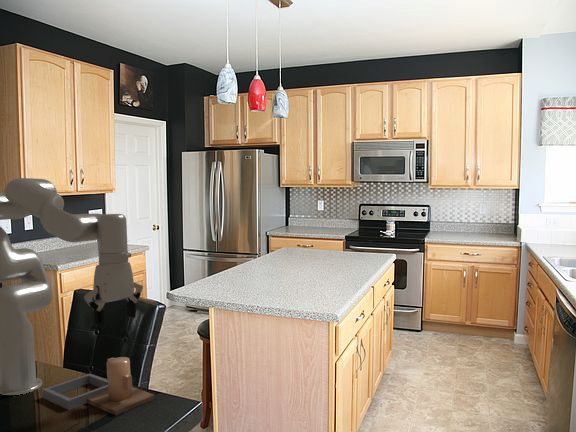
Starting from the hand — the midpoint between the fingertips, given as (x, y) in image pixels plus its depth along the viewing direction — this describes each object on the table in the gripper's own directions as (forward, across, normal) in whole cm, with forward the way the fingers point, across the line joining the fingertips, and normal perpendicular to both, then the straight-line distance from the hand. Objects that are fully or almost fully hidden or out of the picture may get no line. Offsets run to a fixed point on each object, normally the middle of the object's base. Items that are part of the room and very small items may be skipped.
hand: (116, 320), depth 130 cm
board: (+22, 0, +1) cm, 22 cm away
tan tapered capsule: (+21, 0, 0) cm, 21 cm away
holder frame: (+22, +4, -13) cm, 26 cm away
